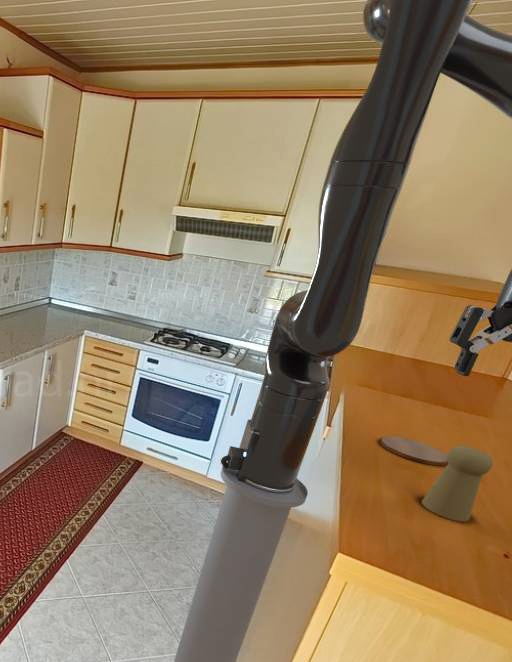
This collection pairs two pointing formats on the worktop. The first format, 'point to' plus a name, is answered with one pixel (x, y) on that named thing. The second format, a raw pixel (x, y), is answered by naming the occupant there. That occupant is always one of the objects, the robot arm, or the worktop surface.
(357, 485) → the worktop surface
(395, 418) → the worktop surface
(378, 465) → the worktop surface
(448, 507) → the cork
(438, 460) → the disc
